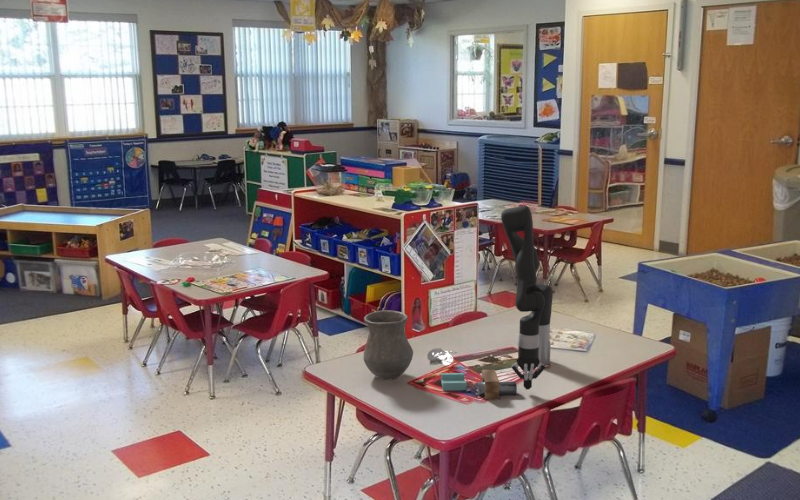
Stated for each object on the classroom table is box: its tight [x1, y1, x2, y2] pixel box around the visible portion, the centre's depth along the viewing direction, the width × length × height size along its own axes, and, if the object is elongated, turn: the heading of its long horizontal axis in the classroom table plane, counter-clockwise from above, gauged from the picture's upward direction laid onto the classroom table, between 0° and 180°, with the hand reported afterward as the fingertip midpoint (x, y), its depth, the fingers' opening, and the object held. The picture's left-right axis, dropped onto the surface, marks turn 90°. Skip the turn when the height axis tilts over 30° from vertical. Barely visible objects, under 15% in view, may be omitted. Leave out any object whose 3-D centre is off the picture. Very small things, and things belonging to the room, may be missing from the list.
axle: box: [477, 381, 518, 396], centre depth 289 cm, size 14×5×5 cm, turn 91°
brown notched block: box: [481, 369, 500, 401], centre depth 290 cm, size 5×12×7 cm, turn 1°
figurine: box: [427, 347, 458, 366], centre depth 322 cm, size 9×6×12 cm
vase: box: [363, 309, 414, 381], centre depth 305 cm, size 20×19×25 cm
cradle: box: [440, 372, 468, 391], centre depth 298 cm, size 9×10×3 cm
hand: (527, 388), depth 289 cm, fingers closed
